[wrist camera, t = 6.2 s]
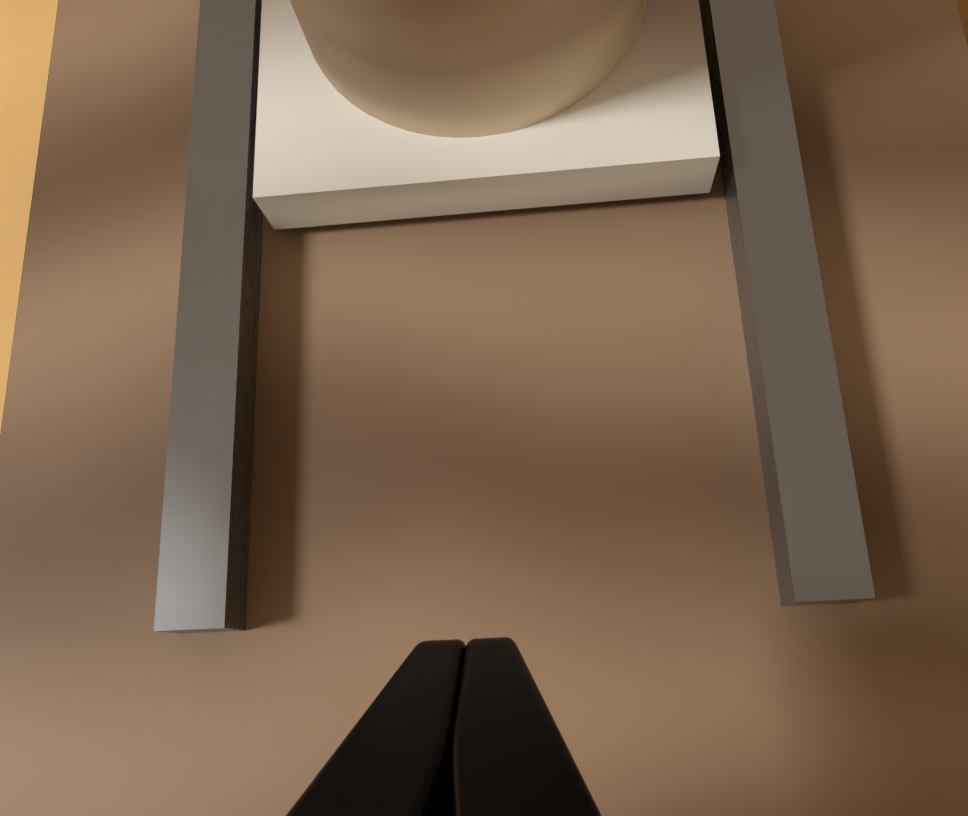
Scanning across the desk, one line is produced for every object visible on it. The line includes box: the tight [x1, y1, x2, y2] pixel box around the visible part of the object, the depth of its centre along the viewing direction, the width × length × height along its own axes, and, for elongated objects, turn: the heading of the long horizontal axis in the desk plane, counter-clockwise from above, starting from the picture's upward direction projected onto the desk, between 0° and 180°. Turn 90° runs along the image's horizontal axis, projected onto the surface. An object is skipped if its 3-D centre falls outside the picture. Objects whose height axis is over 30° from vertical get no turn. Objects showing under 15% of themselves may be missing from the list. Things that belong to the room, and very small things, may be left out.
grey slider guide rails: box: [154, 0, 875, 634], centre depth 13 cm, size 17×12×3 cm
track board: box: [0, 0, 968, 816], centre depth 15 cm, size 22×16×2 cm
